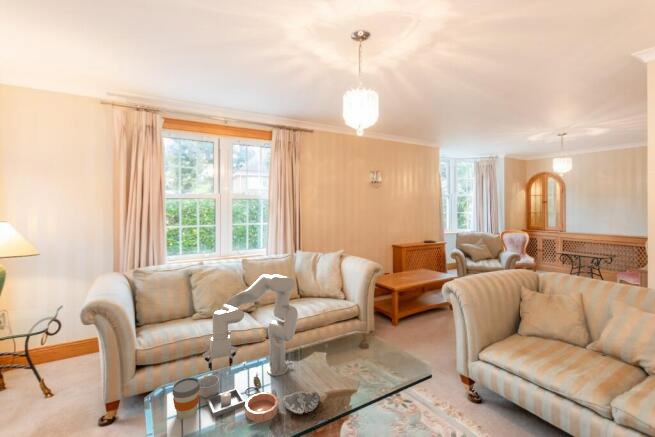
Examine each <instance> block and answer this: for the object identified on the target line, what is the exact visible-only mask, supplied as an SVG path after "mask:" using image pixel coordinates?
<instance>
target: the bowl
mask: <svg viewBox="0 0 655 437" xmlns="http://www.w3.org/2000/svg"><path fill="white" fill-rule="evenodd" d="M278 409H279V399H278V397H277V396H276V394H273V393H270V392H257V393H256V394H254V395H250V396H249V397H248V399H246V400H245V406H244V414H245V416H246V417H247V419H248V420H250V421H253V422H254V423H266V422H267V421H271V420H273V418H275V416H276V415H277V414H278V412H277V411H279V410H278Z"/></svg>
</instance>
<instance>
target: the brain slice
mask: <svg viewBox="0 0 655 437" xmlns="http://www.w3.org/2000/svg"><path fill="white" fill-rule="evenodd" d="M320 400H321V396H320V395H319V393H318V392H317V391H316V392H315V391H310V392H308V391H302V390H301V391H295V392H292V393H291V394H288V395H284V396H283V398H282V404H283V406H284V408H285V409H286V410H287V409H288V410H289V411H288V410H287V411H288V412H290V411H291V412H290V413H293V414H295V415H299V414H298V413H304V411H306V412H311V411H312V412H313V411H314V410H315V409H317V407H318V405H319V403H320ZM312 412H311V413H312ZM304 414H305V413H304Z"/></svg>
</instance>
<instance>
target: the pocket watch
mask: <svg viewBox="0 0 655 437" xmlns="http://www.w3.org/2000/svg"><path fill="white" fill-rule="evenodd" d="M258 376H259V374H258V372H255V376H254V377H253V385H254V386H251V387H248V388H246V389H245V391H244V392H245V395H247V396H252V395H255V394H257V393H258V390H260V388H261V387H262V384H261V379H260V378H259V377H258ZM249 389H255V390H256V392H255V393H251V394H249V393H247V391H248V390H249Z"/></svg>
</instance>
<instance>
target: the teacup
mask: <svg viewBox="0 0 655 437" xmlns="http://www.w3.org/2000/svg"><path fill="white" fill-rule="evenodd" d="M203 376H204V377H202V378H201V379H200V380H199V383H200V389H199V392H200V394H199V396H200V397H202V398H204V399H207V398H209V397H212V396H215V395H218V394H219V393H218V392H219V391H220V378H219V376H217V375H215V374H214V375H213V374H212V375H208V374H204V375H203Z"/></svg>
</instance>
